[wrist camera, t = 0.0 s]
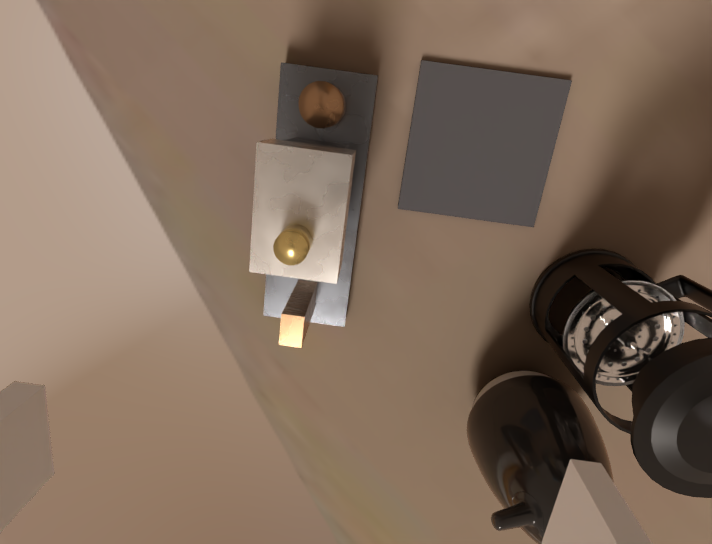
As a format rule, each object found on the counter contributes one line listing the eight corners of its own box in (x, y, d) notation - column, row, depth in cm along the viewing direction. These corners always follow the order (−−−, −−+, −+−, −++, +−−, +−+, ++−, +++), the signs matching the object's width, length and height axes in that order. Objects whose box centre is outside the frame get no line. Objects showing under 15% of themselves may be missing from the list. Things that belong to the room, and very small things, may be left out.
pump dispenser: (466, 347, 41) (512, 471, 27) (583, 359, 41) (693, 490, 27) (449, 441, 45) (482, 596, 30) (557, 452, 44) (643, 614, 30)
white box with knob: (271, 138, 30) (247, 143, 25) (356, 150, 30) (350, 158, 25) (264, 253, 33) (240, 282, 27) (341, 264, 33) (333, 295, 27)
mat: (421, 60, 34) (421, 60, 34) (569, 80, 34) (571, 80, 34) (397, 207, 38) (397, 208, 37) (531, 226, 37) (533, 227, 37)
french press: (543, 368, 42) (721, 646, 20) (505, 280, 39) (663, 486, 17) (676, 318, 39) (1041, 567, 18) (646, 220, 37) (1027, 372, 15)
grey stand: (285, 64, 35) (256, 49, 26) (377, 77, 34) (377, 65, 26) (267, 308, 41) (240, 355, 33) (345, 319, 41) (337, 369, 33)
